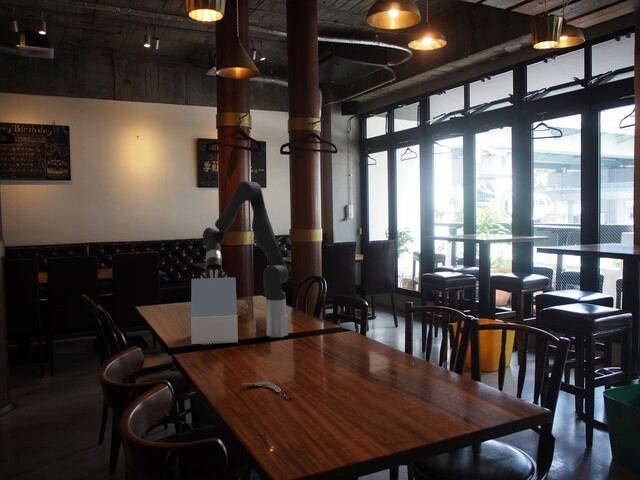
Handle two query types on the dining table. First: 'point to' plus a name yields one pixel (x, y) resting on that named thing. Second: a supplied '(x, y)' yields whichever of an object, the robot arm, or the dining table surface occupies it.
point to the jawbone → (265, 385)
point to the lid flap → (213, 297)
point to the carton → (214, 329)
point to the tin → (242, 307)
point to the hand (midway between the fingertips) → (214, 290)
